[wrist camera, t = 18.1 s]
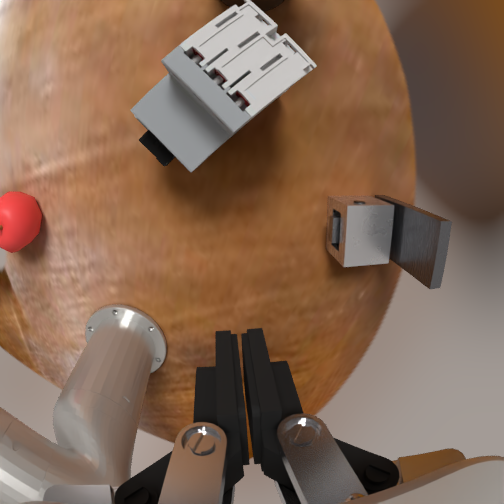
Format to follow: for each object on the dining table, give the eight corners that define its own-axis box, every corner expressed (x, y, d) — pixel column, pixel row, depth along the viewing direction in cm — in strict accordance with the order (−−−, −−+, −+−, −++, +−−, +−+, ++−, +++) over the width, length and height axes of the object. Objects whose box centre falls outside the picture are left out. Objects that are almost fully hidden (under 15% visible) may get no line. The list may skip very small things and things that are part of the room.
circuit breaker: (146, 131, 32) (99, 122, 18) (237, 52, 30) (249, -5, 16) (189, 175, 34) (168, 194, 20) (280, 95, 32) (319, 64, 18)
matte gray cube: (366, 246, 40) (388, 263, 34) (325, 248, 39) (343, 267, 33) (369, 194, 37) (394, 204, 31) (327, 194, 37) (347, 204, 31)
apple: (5, 190, 31) (-29, 201, 24) (45, 183, 32) (11, 193, 25) (13, 243, 34) (-18, 262, 27) (52, 241, 35) (23, 262, 27)
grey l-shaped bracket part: (380, 245, 40) (440, 287, 27) (320, 248, 39) (366, 298, 26) (384, 195, 38) (451, 221, 24) (322, 195, 37) (375, 222, 24)
